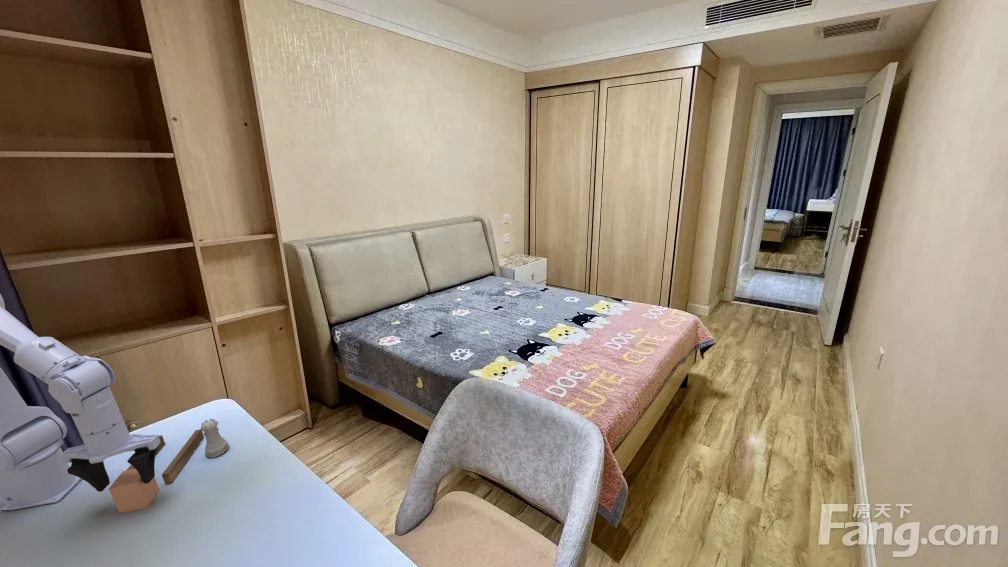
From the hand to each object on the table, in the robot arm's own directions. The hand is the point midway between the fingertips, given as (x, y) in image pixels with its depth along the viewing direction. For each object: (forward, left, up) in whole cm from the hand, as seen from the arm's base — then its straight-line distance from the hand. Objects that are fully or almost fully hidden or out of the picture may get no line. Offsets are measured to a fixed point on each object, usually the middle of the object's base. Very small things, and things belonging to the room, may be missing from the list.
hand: (127, 483), depth 78 cm
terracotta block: (+1, 0, -5) cm, 5 cm away
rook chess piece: (+10, +12, -5) cm, 16 cm away
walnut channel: (0, +11, -5) cm, 11 cm away
